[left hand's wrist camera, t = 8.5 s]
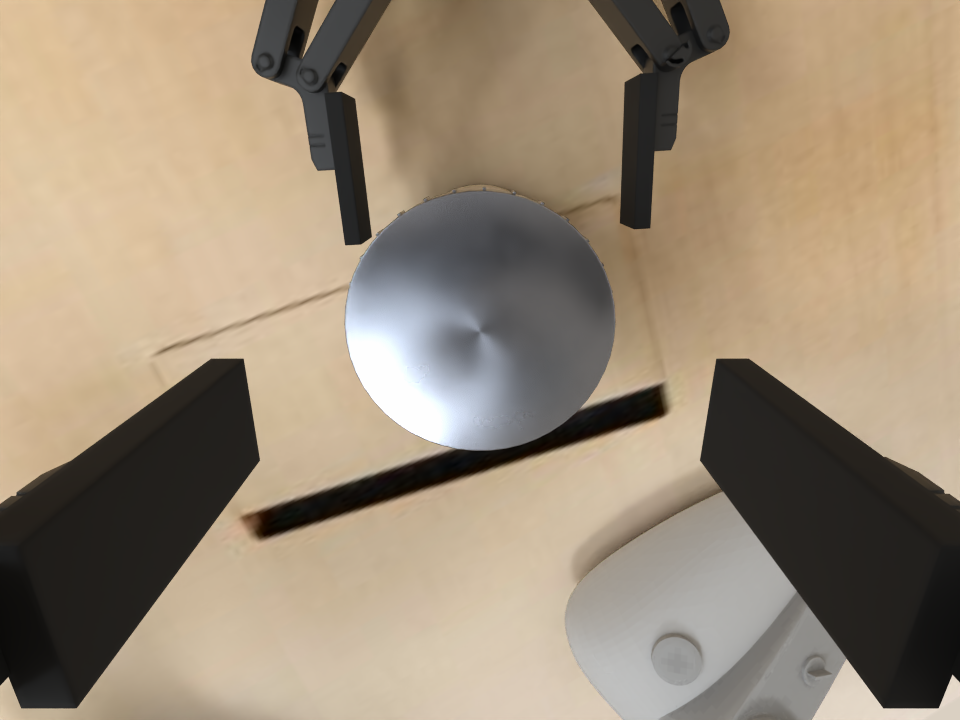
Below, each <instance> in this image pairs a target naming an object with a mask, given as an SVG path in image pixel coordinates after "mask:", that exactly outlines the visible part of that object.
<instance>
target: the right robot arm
mask: <svg viewBox="0 0 960 720" xmlns="http://www.w3.org/2000/svg"><path fill="white" fill-rule="evenodd" d="M390 1H391V0H336V1H335V2H334V4H333V6H332V8H331V9H330V11H329V13H328V15H327V16H326V18H325V20H324V22H323V23H322V25H321V27H320V29H319V30H318V32H317V34H316V36H315V37H314V39H313V41H312V43H311V45H310V46H309V48H308V50H307V52H306V53H305V55H304V57H303V54H304V50H305V47H306V43H307V39H308V36H309V32H310V29H311V25H312V22H313V18H314V15H315V11H316V7H317V4H318V0H266V1H265V5H264V9H263V13H262V17H261V21H260V25H259V29H258V33H257V37H256V40H255V44H254V48H253V52H252V58H251V63H252V66H253V69H254V70H255V71H256V73H257V74H259V75H260V76H261V77H264V78H266V79H269V80H272V81H274V82H277V83H279V84H282V85H285V86H288V87H292V88H294V89H295V90H296V91H297V92H298V93H299V94H300V96H301V98H302V101H303V106H304V113H305V119H306V126H307V132H308V139H309V145H310V152H311V159H312V161H313V163H314V165H315V167H316V169H317V170H318V171H321V170H335V175H336V182H337V189H338V197H339V204H340V211H341V218H342V225H343V233H344V240H345V245H358V244H362V243H364V242H365V241H367V240H368V239H370V238H371V237H372V234H371V226H370V218H369V210H368V201H367V193H366V185H365V177H364V169H363V160H362V152H361V144H360V136H359V127H358V119H357V111H356V103H355V99H354V98H352V97H350V96H349V95H347V94H345V93H343V92H336V91H337V90H338V88H339V86H340V85H341V83H342V81H343V80H344V78H345V76H346V75H347V73H348V71H349V70H350V68H351V66H352V65H353V63H354V61H355V60H356V58H357V56H358V55H359V53H360V51H361V50H362V48H363V46H364V45H365V43H366V41H367V40H368V38H369V36H370V35H371V33H372V31H373V30H374V28H375V26H376V25H377V23H378V21H379V20H380V18H381V16H382V15H383V13H384V11H385V10H386V8H387V6H388V5H389V3H390ZM589 1H590V3H591V4H592V5H593V7H594V8H595V9H596V11H597V12H598V13H599V15H600V16H601V17H602V19H603V20H604V21H605V23H606V24H607V25H608V27H609V28H610V29H611V31H612V32H613V33H614V35H615V36H616V37H617V39H618V40H619V41H620V43H621V44H622V45H623V47H624V48H625V49H626V51H627V52H628V53H629V55H630V56H631V57H632V59H633V60H634V61H635V63H636V64H637V65H638V67H639V68H640V69H641V71H642V72H643V73H642V74H639V75H637V76H636V77H634V78H632V79H630V80H628V81H627V82H625V92H624V121H623V150H622V180H621V209H620V223H621V224H623V225H626V226H628V227H630V228H633V229H646V228H650V223H651V204H652V185H653V166H654V151H665V150H671V149H672V146H673V144H674V142H675V139H676V131H677V116H678V115H677V113H678V100H679V85H680V77H681V74H682V71H683V70H684V68H685V67H686V66H687V65H688V64H689V63H691V62H693V61H695V60H697V59H699V58H702V57H704V56H706V55H708V54H710V53H712V52H714V51H716V50H718V49H720V48H722V47H723V46H724V45H725V44H726V42H727V40H728V38H729V33H730V31H729V25H728V23H727V20H726V17H725V14H724V11H723V9H722V6H721V3H720V0H661V1H662V4H663V6H664V9H665V11H666V14H667V16H668V19H669V22H670V24H671V26H670V24H669V23H668V22H667V20H666V19H665V18H664V16H663V15H662V13H661V12H660V11H659V9H658V8H657V6H656V5H655V4H654V2H653V1H652V0H589ZM302 57H303V59H302Z"/></svg>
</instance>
